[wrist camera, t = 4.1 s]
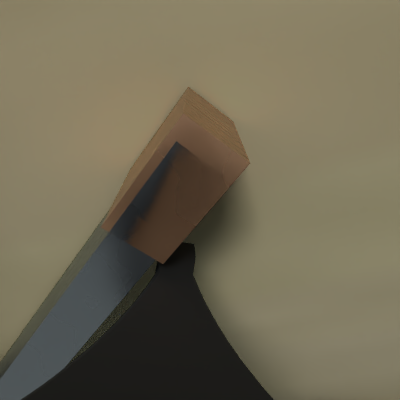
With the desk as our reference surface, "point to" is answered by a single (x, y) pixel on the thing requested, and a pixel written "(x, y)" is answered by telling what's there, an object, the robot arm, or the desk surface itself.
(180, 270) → the robot arm
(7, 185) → the desk surface
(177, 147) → the arm
